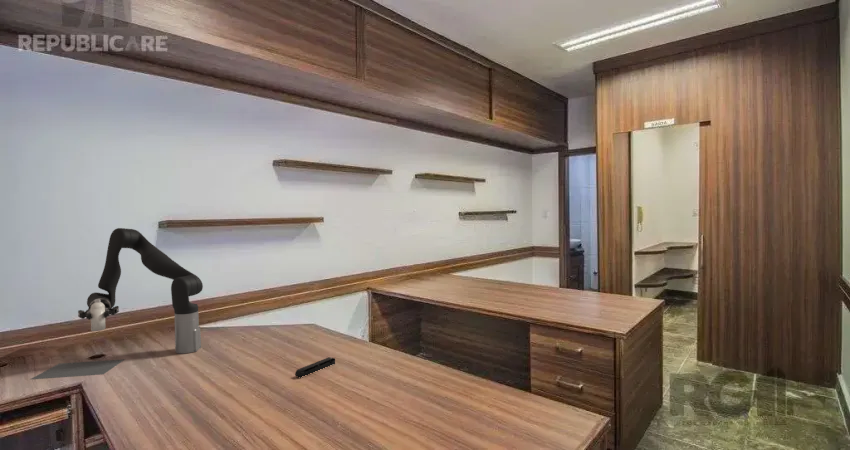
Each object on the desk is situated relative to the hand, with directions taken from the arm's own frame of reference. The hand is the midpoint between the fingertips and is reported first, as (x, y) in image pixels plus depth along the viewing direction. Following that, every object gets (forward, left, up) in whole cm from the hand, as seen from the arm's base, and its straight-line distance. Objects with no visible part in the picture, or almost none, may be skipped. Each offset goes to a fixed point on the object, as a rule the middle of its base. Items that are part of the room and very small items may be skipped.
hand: (97, 316), depth 166 cm
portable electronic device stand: (-87, +23, -20) cm, 92 cm away
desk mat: (+4, +5, -20) cm, 21 cm away
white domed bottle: (+1, -2, -6) cm, 7 cm away
